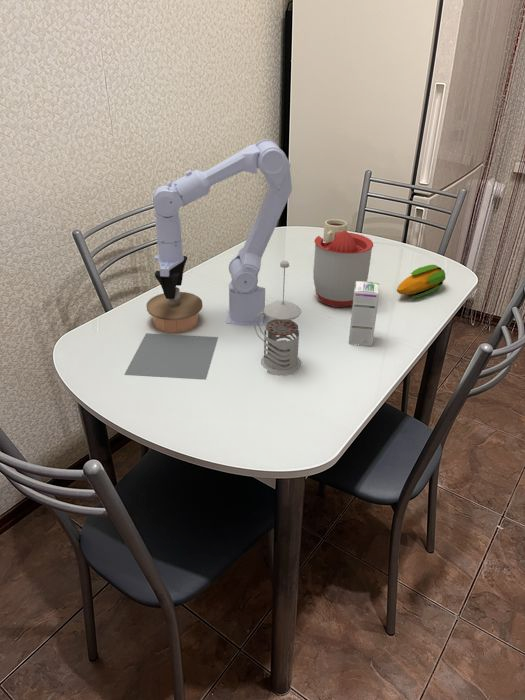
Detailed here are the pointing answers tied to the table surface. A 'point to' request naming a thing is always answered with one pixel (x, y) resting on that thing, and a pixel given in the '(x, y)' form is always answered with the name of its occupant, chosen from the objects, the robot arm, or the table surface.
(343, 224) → the character mug
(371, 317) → the syrup box
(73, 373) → the table surface
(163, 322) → the bowl
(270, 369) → the french press
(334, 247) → the citrus juicer
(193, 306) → the lid
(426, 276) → the corn
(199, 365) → the mat
